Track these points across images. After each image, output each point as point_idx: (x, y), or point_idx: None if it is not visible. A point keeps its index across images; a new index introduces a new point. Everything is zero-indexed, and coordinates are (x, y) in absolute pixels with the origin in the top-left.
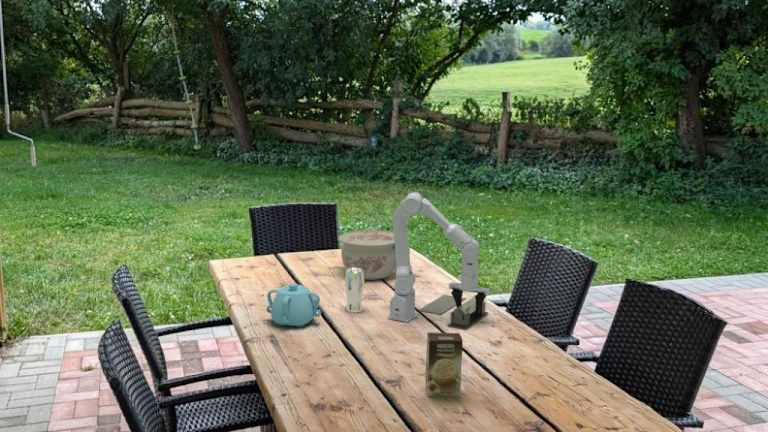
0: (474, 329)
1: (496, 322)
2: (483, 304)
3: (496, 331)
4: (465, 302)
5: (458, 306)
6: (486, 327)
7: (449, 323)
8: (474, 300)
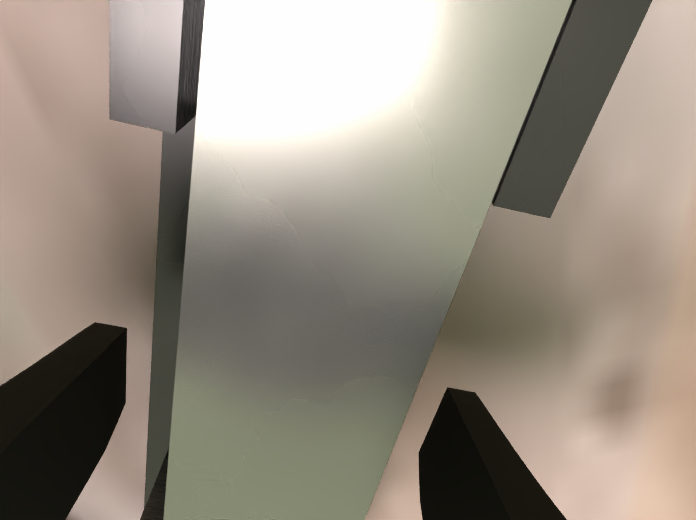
0: (419, 517)
1: (685, 286)
2: (578, 137)
3: (636, 513)
4: (168, 496)
5: (85, 479)
6: (540, 453)
7: (146, 502)
8: (342, 314)
